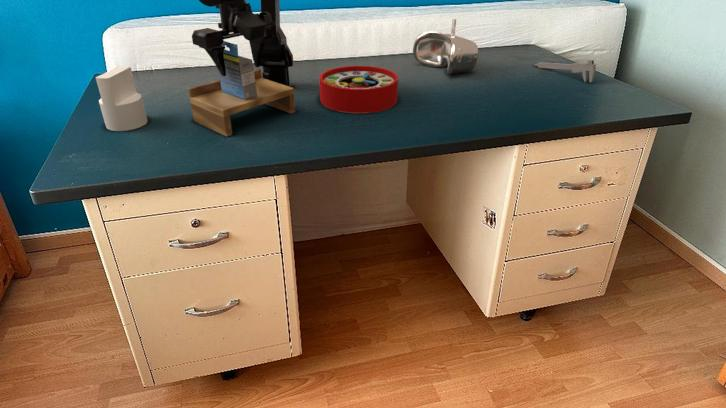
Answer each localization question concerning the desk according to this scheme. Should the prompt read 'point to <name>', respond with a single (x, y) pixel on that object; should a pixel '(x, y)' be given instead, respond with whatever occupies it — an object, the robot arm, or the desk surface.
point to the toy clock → (358, 89)
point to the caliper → (574, 68)
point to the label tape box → (237, 74)
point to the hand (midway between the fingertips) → (241, 71)
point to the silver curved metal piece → (446, 51)
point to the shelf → (236, 102)
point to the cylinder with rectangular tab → (120, 100)
